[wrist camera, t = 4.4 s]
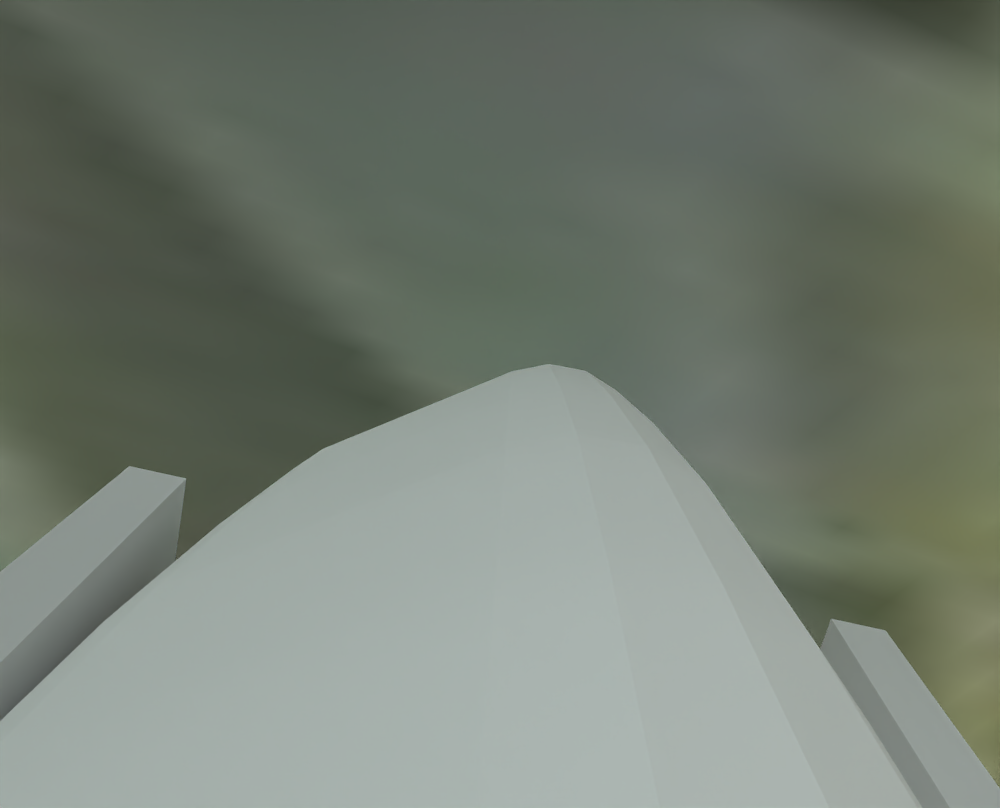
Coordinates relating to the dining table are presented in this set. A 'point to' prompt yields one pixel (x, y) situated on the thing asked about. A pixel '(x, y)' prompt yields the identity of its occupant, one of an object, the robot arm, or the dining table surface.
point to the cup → (459, 638)
